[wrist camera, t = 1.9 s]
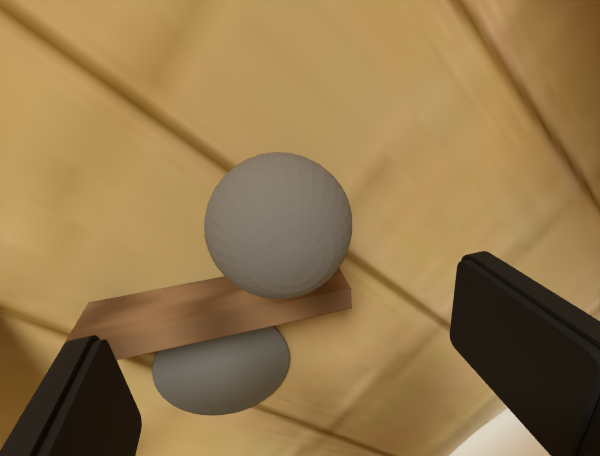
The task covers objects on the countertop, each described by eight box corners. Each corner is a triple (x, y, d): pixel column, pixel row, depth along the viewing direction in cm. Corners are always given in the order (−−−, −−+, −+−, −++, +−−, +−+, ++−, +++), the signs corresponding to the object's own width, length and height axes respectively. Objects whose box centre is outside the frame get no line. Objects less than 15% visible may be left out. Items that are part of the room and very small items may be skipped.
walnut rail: (331, 255, 23) (350, 288, 20) (332, 273, 24) (351, 308, 20) (88, 302, 21) (60, 349, 17) (97, 321, 22) (72, 369, 18)
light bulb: (274, 105, 18) (321, 134, 10) (327, 188, 21) (403, 270, 12) (188, 168, 19) (157, 251, 10) (252, 241, 22) (271, 358, 13)
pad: (280, 298, 24) (281, 302, 24) (294, 393, 28) (295, 397, 28) (135, 329, 22) (133, 333, 22) (173, 423, 27) (172, 428, 26)
